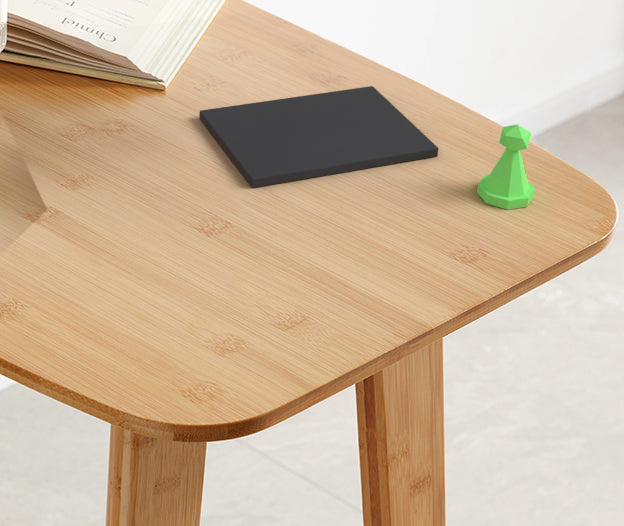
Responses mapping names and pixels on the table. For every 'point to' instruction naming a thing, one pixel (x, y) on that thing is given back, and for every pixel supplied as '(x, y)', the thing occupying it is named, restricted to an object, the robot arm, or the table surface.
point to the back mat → (315, 135)
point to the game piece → (508, 173)
